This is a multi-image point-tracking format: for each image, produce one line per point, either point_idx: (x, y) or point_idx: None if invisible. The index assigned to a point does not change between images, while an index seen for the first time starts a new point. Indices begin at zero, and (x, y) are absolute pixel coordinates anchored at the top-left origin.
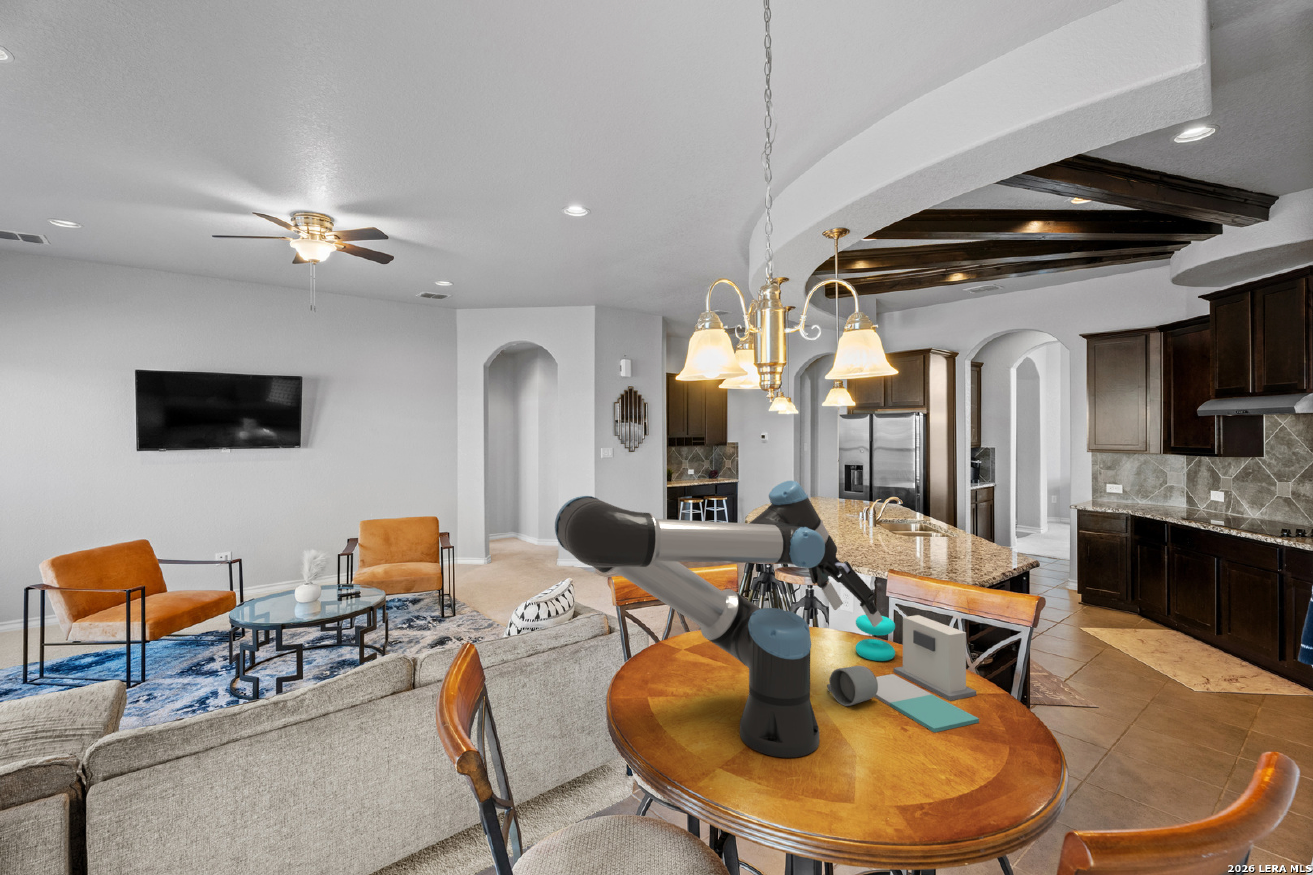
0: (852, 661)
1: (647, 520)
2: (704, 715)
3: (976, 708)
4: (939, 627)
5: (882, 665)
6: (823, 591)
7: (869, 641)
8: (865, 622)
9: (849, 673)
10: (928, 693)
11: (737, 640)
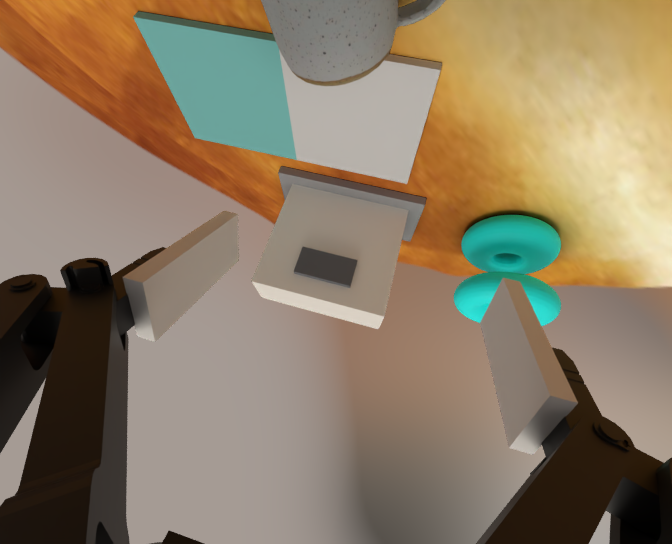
0: (538, 185)
1: None
2: None
3: (249, 171)
4: (298, 299)
5: (464, 208)
6: (558, 379)
7: (523, 262)
8: None
9: None
10: (302, 157)
11: None
